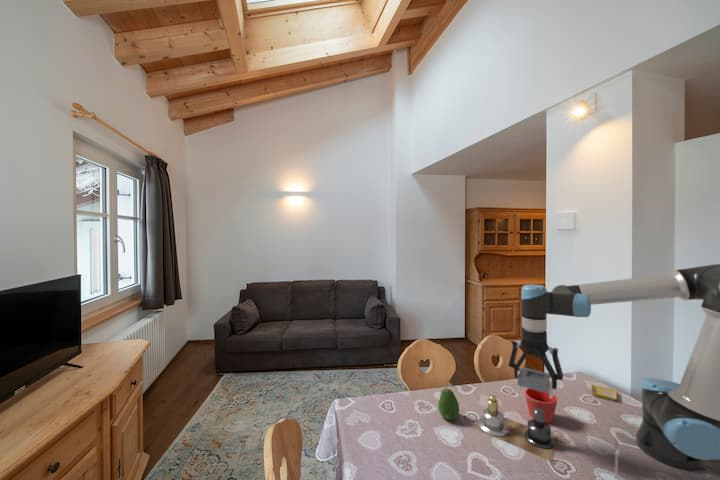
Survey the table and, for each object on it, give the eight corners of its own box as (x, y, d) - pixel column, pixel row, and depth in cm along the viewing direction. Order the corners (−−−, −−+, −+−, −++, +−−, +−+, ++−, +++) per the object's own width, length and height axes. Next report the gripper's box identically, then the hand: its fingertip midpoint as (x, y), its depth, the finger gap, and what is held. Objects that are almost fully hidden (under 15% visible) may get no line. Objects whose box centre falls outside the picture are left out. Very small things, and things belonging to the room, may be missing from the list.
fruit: (442, 410, 122) (442, 382, 122) (461, 417, 117) (461, 387, 117) (436, 420, 115) (435, 391, 115) (455, 428, 111) (455, 397, 110)
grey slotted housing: (552, 382, 103) (552, 374, 102) (547, 393, 96) (547, 384, 96) (523, 375, 109) (523, 367, 108) (517, 384, 102) (517, 376, 102)
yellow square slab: (616, 394, 130) (616, 390, 130) (616, 403, 123) (616, 398, 123) (591, 388, 135) (591, 384, 135) (591, 396, 129) (590, 392, 129)
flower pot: (563, 429, 108) (562, 403, 108) (531, 426, 110) (530, 401, 110) (550, 411, 119) (550, 388, 119) (521, 409, 121) (521, 386, 121)
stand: (556, 438, 102) (555, 409, 102) (552, 453, 96) (551, 422, 96) (527, 427, 108) (527, 400, 108) (521, 440, 102) (521, 411, 102)
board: (558, 439, 103) (558, 437, 103) (551, 463, 92) (551, 461, 92) (486, 412, 120) (486, 410, 120) (473, 430, 109) (473, 428, 109)
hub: (513, 425, 110) (512, 395, 110) (504, 441, 102) (504, 408, 102) (483, 414, 117) (482, 385, 117) (473, 428, 109) (472, 397, 109)
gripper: (573, 332, 97) (574, 398, 98) (504, 320, 112) (505, 378, 112) (570, 338, 92) (571, 408, 92) (498, 325, 106) (499, 386, 107)
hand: (535, 392), depth 102 cm, fingers closed on grey slotted housing, 9 cm apart
